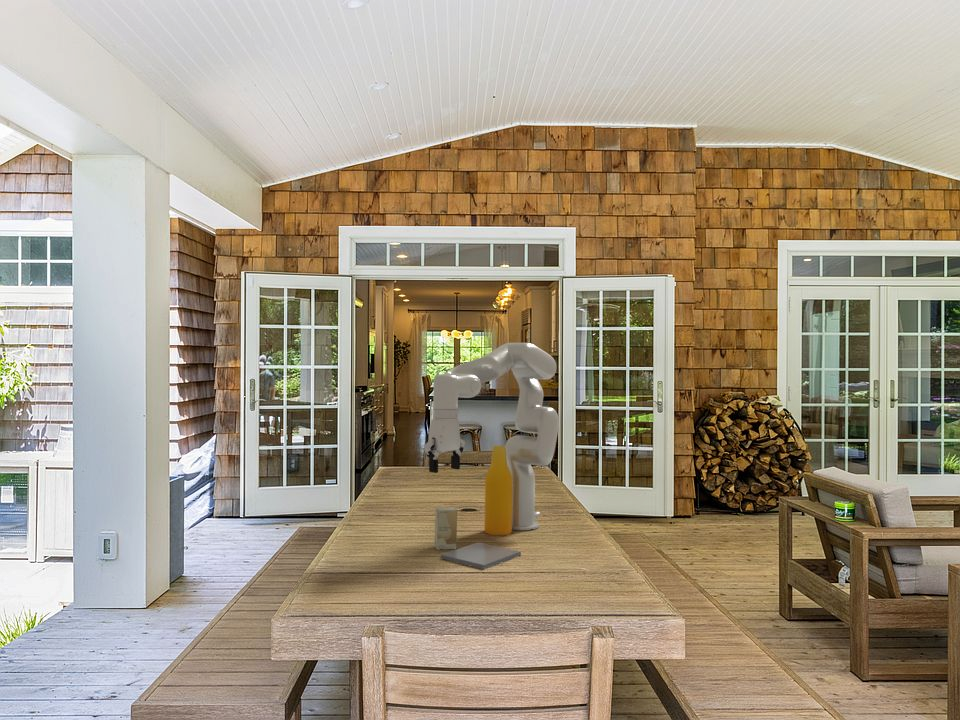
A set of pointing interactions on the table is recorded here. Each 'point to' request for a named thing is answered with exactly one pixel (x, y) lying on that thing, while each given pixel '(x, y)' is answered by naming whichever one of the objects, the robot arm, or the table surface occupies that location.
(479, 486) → the table surface
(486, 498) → the beer bottle
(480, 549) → the slate board
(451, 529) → the skincare box
